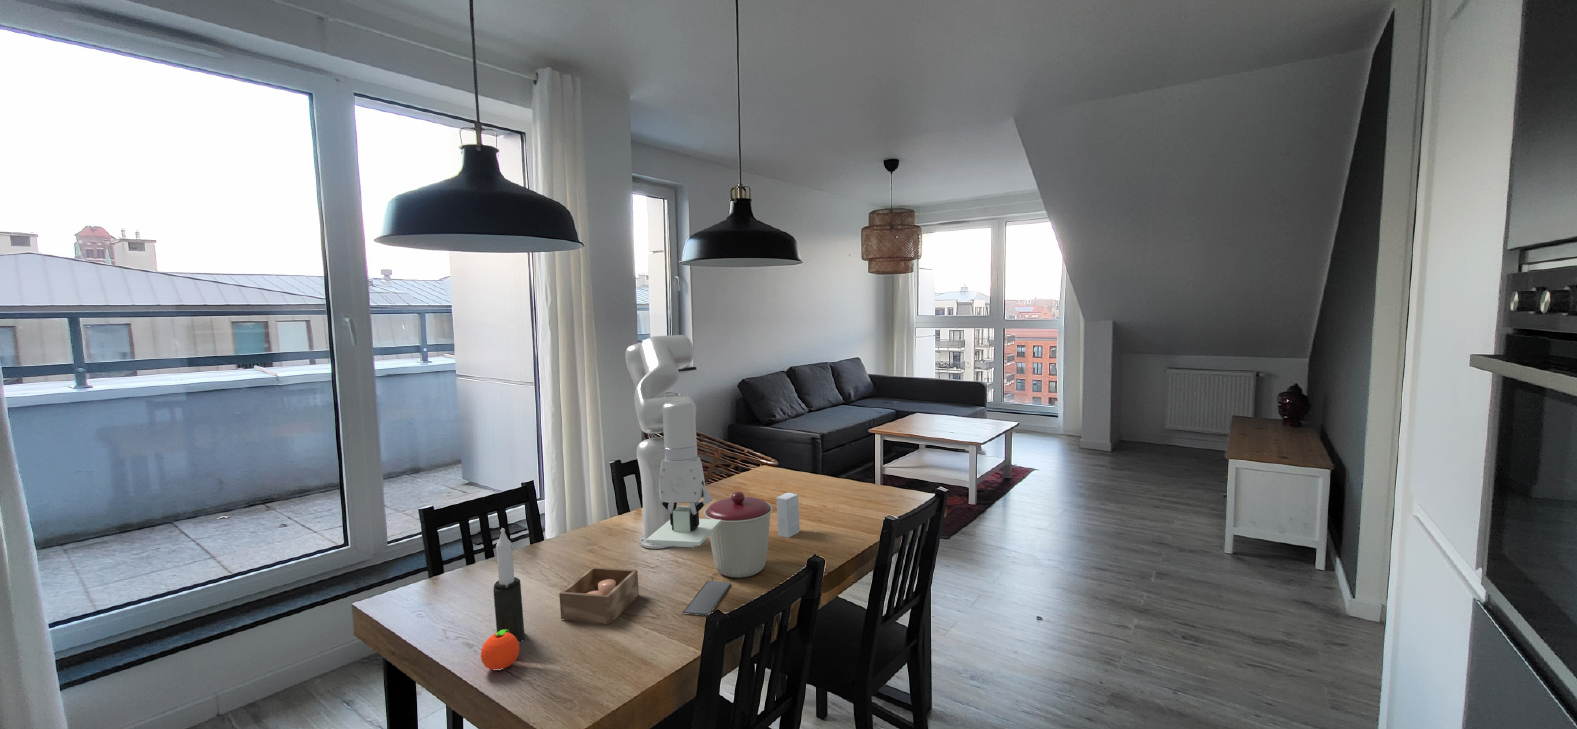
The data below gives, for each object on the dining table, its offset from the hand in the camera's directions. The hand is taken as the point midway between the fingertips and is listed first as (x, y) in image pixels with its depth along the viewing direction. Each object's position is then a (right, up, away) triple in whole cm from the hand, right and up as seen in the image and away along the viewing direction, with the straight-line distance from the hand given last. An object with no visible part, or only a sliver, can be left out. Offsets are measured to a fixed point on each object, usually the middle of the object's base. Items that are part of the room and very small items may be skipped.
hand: (685, 527), depth 146 cm
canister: (+12, -16, +16) cm, 26 cm away
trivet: (+1, -17, +2) cm, 17 cm away
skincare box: (+25, -13, +41) cm, 50 cm away
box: (-19, -18, -3) cm, 27 cm away
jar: (-20, -18, -6) cm, 27 cm away
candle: (-34, -20, -16) cm, 43 cm away
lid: (0, -2, 0) cm, 2 cm away
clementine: (-32, -21, -25) cm, 46 cm away
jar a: (-18, -17, 0) cm, 25 cm away
